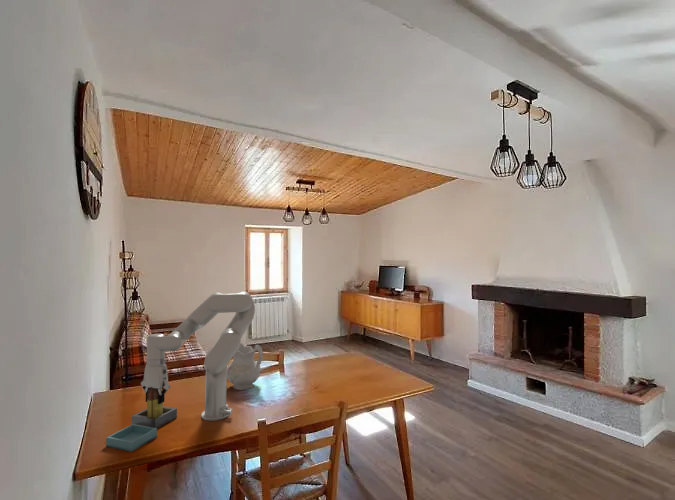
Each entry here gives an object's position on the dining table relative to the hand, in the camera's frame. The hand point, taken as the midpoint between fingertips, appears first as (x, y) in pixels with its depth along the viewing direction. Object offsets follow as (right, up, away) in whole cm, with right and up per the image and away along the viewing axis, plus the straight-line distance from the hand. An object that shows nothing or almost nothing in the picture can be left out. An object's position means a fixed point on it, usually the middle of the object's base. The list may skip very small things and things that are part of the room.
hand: (154, 401), depth 169 cm
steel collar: (0, -9, 0) cm, 9 cm away
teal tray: (0, -8, -19) cm, 21 cm away
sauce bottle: (0, -9, 0) cm, 9 cm away
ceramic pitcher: (+29, -10, +46) cm, 56 cm away
